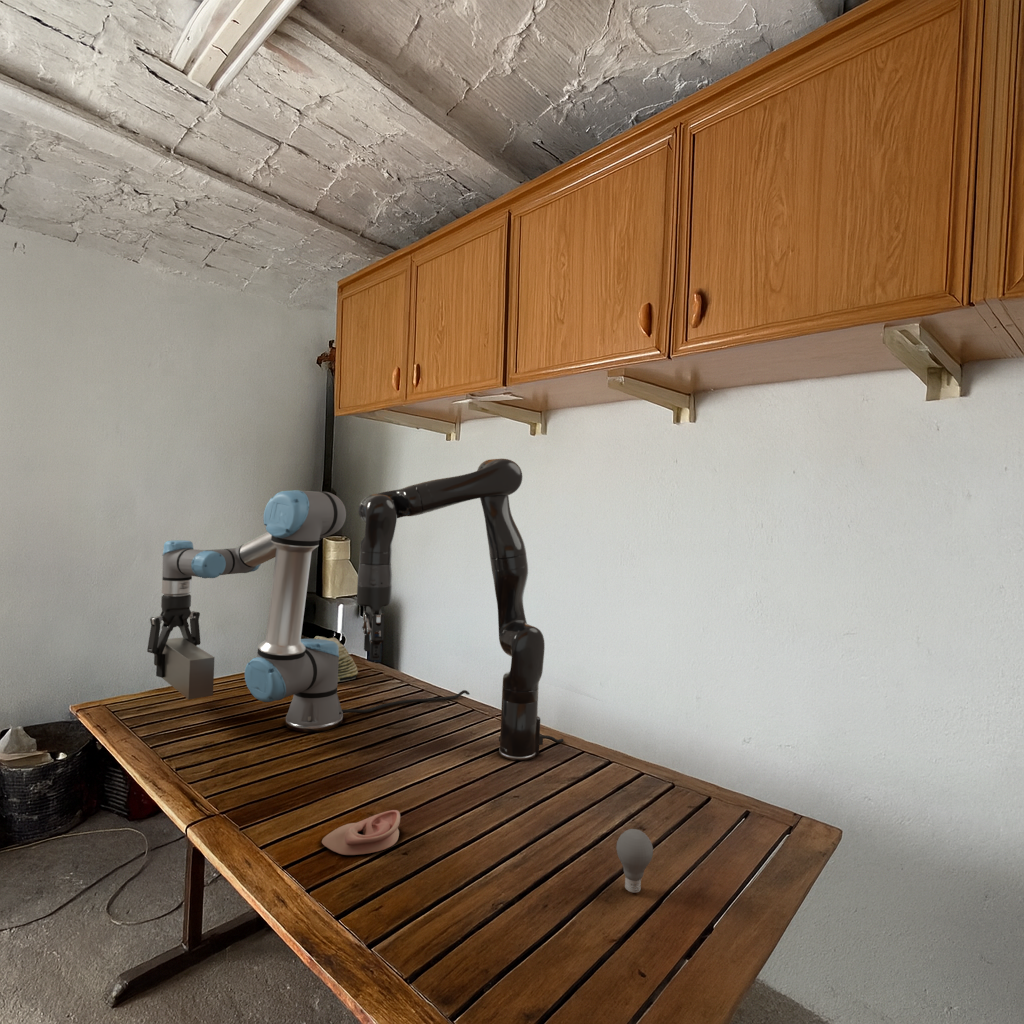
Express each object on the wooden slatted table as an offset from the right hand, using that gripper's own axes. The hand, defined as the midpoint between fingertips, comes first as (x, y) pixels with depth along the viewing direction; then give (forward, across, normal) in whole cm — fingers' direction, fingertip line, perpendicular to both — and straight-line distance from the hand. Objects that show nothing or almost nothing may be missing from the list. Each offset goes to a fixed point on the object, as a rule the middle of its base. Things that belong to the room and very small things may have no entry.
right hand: (371, 655), depth 142 cm
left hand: (+18, +61, +46) cm, 78 cm away
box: (+19, +52, +42) cm, 70 cm away
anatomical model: (+28, -25, +5) cm, 38 cm away
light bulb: (+28, -54, -36) cm, 71 cm away
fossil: (+28, +80, +1) cm, 85 cm away
